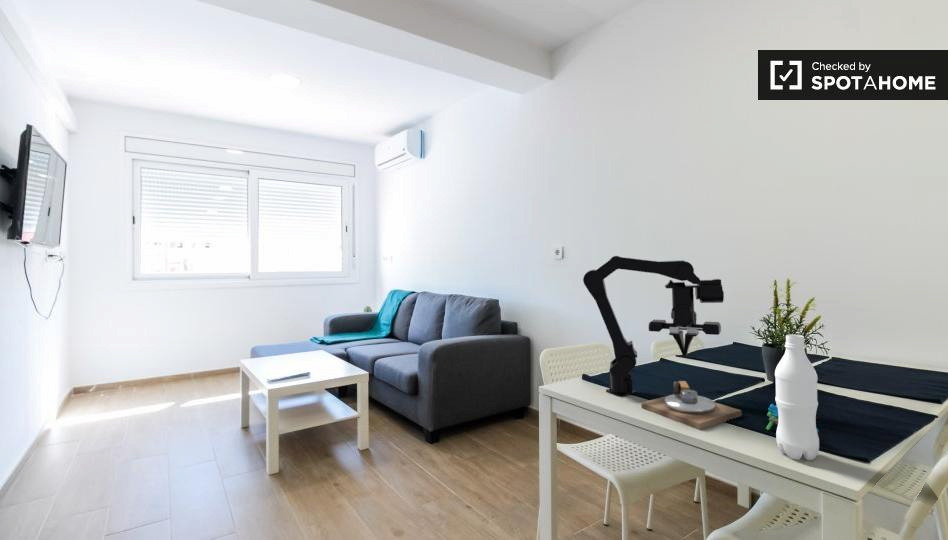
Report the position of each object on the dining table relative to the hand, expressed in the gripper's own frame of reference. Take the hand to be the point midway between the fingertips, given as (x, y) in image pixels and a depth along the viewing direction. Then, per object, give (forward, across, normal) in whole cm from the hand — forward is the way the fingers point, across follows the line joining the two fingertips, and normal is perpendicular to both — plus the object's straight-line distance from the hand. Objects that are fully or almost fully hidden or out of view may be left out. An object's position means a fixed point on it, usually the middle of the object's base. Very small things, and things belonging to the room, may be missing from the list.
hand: (684, 355), depth 130 cm
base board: (+12, -3, +13) cm, 18 cm away
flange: (+10, -2, +11) cm, 15 cm away
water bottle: (+12, -26, +30) cm, 41 cm away
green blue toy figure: (+12, -25, +18) cm, 33 cm away
